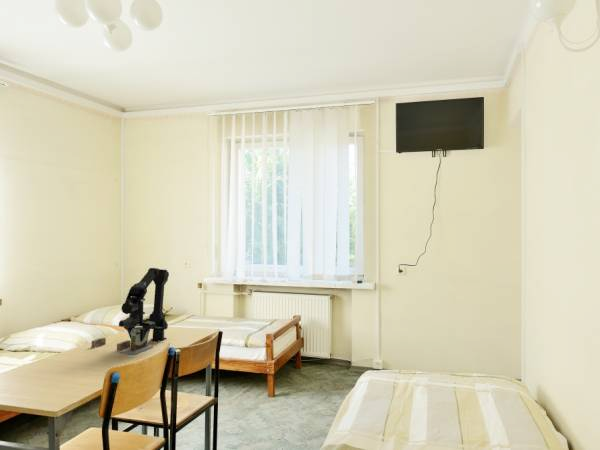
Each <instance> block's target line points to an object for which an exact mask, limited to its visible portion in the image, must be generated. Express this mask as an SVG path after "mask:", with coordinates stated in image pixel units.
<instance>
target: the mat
mask: <svg viewBox="0 0 600 450" xmlns="http://www.w3.org/2000/svg"><path fill="white" fill-rule="evenodd" d="M130 348H131V347H130ZM130 348H127V349H124V350H121V351H119V354H124V355H132V356H133V355H134V356H135V355H138V354H140V353H143V352H146V351H148V350H151V349H154V346H153V345H146V347H145V348H142V349H140V350H137V351H132V350H131V349H130Z"/></svg>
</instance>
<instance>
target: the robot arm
mask: <svg viewBox="0 0 600 450" xmlns="http://www.w3.org/2000/svg"><path fill="white" fill-rule="evenodd" d="M169 274H170V273H169V271H168V270H167V269H160V268H157V267H149V268H148V270H147V272H146V273H145V274H144V276H143V277H141V280H139V282H136V283H135V284H133V285H131V286H130V289H129V290H128V293H127V295H126V298H125V301H124V302H123V304H121V309H120V310H121V311H122V313H123V314H125V315H128V314H129V316H128V317H127V318H125V319H123V320H120V321H119V322H118V327H121V328H122V327H123V329H125V330H126V331H127V333H128V336H129V340H131V334H130V332H131V330H132V329H133V328H135V327H142V328H141V329H139V330H140V331H141V342H142V341H143V339H144V337H145V335H146V333H147V331H148V330H149V329H150V330H152V338H150V341H154V342H155V341H156V342H161V341H164V340H166V339H167V337H165V330H167V329H168V327H169V323H168V322H167V320H166V315H165V313H164V311H163V310H164V309H163V307H164V294H165V285H166V284H167V283H168V279H169V276H170V275H169ZM152 282H153V283H154V285H155V286H154V297H153V311H152V313H149V316H148V317H149V318H148V319H149V320H148V321H146V322H145V319H144V315H145V314H146V312H145V311H144V302H145V301H146V299H145V297H146V295H147V293H148V287H149V286H150V285H151V283H152Z"/></svg>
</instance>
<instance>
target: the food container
mask: <svg viewBox="0 0 600 450" xmlns="http://www.w3.org/2000/svg"><path fill="white" fill-rule="evenodd" d="M141 328H142V326H135V328H133V329H132V330H131V332H130V334H131V339H130V341H131V344H130V349H131V350H132V351H137V350H140V349H142V348H145V347H146V346H148V340H149V335H150V332H151V329H149V330H148V331H147V333H146V335H145V337H144V339H143V341H142V342H141V331H140V330H139V329H141Z"/></svg>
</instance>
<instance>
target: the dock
mask: <svg viewBox="0 0 600 450" xmlns="http://www.w3.org/2000/svg"><path fill="white" fill-rule="evenodd" d="M106 341H107V338H106V337H99V338H97V339H94V340H91V348H92V347H93V348H92V349H95V347H96V348H99V347H101V346H105V345H106ZM129 348H131V339H128V340H124V341H121V342H118V343H116V351H118V352H121V351H124V350H126V349H129Z"/></svg>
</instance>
